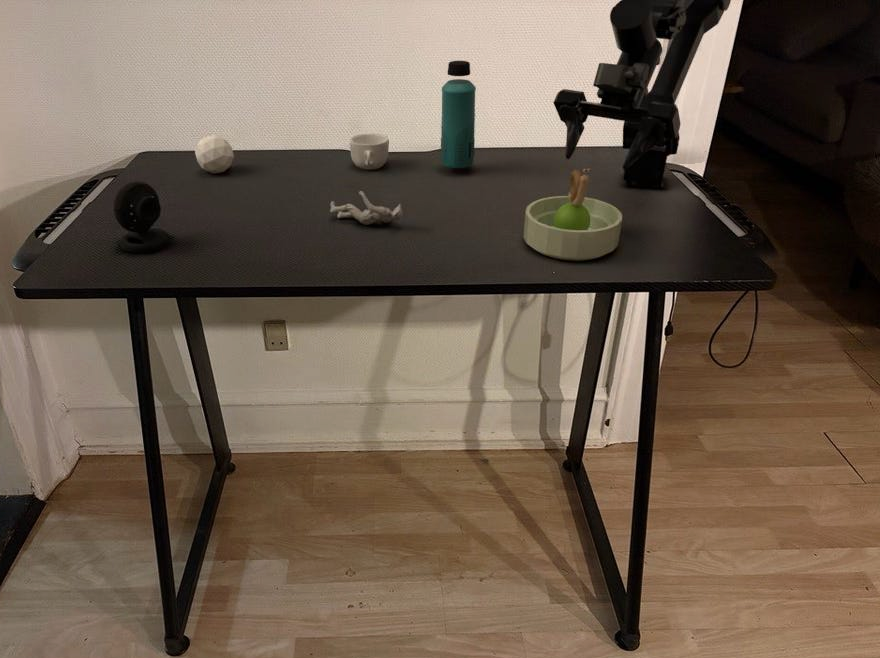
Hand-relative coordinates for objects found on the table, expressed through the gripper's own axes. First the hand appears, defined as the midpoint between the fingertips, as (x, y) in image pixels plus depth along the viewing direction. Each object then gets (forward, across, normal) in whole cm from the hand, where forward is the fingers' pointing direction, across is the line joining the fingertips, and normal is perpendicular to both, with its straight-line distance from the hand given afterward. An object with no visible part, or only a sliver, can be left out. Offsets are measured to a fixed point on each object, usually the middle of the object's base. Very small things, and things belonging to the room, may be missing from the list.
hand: (595, 163), depth 110 cm
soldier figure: (+20, -31, -5) cm, 37 cm away
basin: (+12, 0, +3) cm, 13 cm away
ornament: (+17, -72, -2) cm, 74 cm away
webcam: (+38, -55, -23) cm, 71 cm away
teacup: (+4, -48, +11) cm, 49 cm away
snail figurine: (+12, 0, +3) cm, 12 cm away
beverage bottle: (-1, -32, +17) cm, 37 cm away
